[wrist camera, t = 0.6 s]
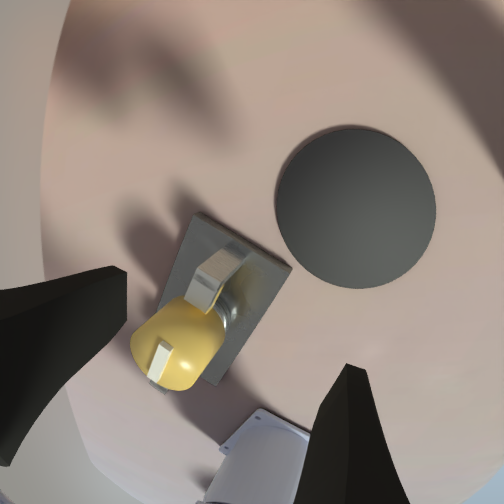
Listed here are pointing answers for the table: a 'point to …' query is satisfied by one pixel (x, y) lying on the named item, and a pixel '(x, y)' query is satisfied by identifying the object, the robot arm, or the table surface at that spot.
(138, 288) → the table surface
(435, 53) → the table surface
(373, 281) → the mat
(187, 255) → the grey plate with posts
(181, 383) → the cap
